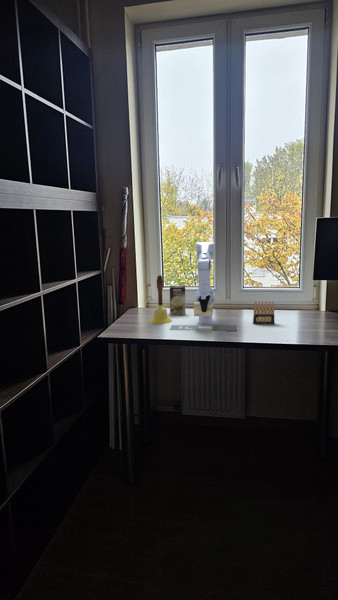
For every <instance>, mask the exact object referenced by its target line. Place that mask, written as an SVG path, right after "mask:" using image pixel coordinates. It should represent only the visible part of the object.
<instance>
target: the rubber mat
mask: <svg viewBox="0 0 338 600" xmlns="http://www.w3.org/2000/svg"><path fill="white" fill-rule="evenodd" d="M211 331H212V332H213V331H215V332H217V331H218V332H221V331H222V332H238V327H237V325H227V324H226V325H216V324H214V325H213V324H212V329H211Z"/></svg>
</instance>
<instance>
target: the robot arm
mask: <svg viewBox="0 0 338 600" xmlns="http://www.w3.org/2000/svg"><path fill="white" fill-rule="evenodd" d="M195 244H196V245H195V252H196V257H197V259H198V260H197V264H196V266H197V275H198V289H197V290H196V291H195V292H196V293H195V302H200V305H201V310H202V312H207V306H208V302H213V306H214V305H215V301H216V300H215V298H216V297H215V295H216V294H215V289H213V288H212V287H211V271H212V260H213V259H215V250H216V248H215V247H216V244H215V241H196V243H195ZM197 324H198V325H199V324H201V325H202V324H205V325H206V324H207V325H213V324H214V318H213V316H198V318H197Z"/></svg>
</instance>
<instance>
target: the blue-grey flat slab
mask: <svg viewBox="0 0 338 600" xmlns="http://www.w3.org/2000/svg"><path fill="white" fill-rule="evenodd" d="M199 326H200V325H199V324H198V325H194V324H193V325H191V324H189V325H188V324H185V325H181V324H172V325H170V328H169V331H198V330H199Z"/></svg>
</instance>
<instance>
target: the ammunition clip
mask: <svg viewBox="0 0 338 600" xmlns="http://www.w3.org/2000/svg"><path fill="white" fill-rule="evenodd" d="M252 319H253V320H252V324H253V325H275V324H276V322H275V302H274V300H272V301H270V300H268V302H267V300H265V301H264V300H262V301H261V302H260V301H258V302H257V301H256V300H255V301H254V304H253V318H252Z"/></svg>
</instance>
